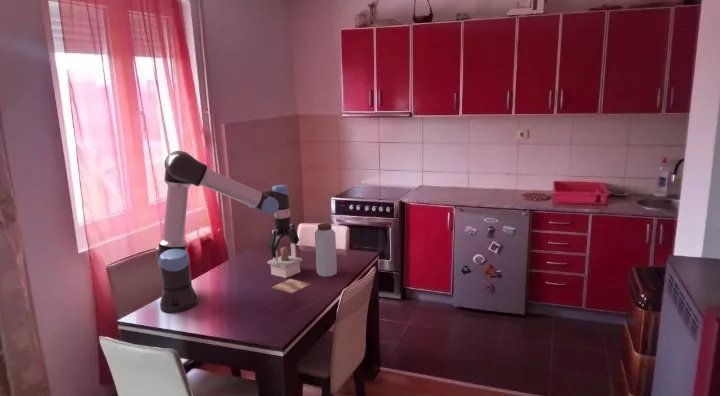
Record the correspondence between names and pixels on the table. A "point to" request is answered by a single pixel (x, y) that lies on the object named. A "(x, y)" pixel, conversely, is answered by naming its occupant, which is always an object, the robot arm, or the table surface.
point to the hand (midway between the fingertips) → (284, 259)
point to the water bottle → (325, 250)
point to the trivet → (290, 285)
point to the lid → (285, 259)
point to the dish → (285, 270)
